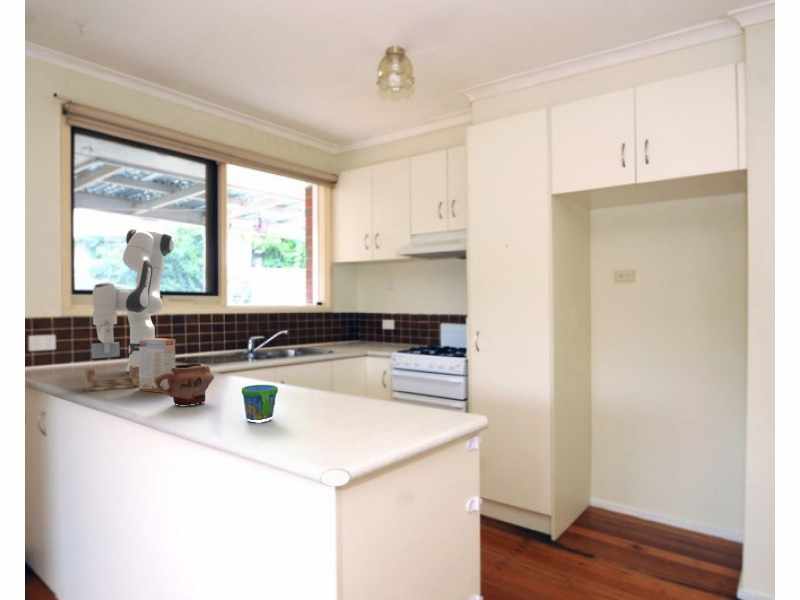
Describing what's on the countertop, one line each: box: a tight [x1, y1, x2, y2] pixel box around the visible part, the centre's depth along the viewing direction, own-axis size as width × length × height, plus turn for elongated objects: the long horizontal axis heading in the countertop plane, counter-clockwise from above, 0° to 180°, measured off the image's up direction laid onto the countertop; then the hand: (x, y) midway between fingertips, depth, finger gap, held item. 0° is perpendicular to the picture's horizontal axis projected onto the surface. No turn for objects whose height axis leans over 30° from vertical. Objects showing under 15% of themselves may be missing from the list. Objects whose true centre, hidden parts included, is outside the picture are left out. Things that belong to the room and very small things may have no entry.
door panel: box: [91, 341, 121, 359], centre depth 209 cm, size 10×2×6 cm, turn 128°
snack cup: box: [241, 384, 279, 420], centre depth 147 cm, size 16×11×10 cm
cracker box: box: [138, 337, 176, 393], centre depth 193 cm, size 14×6×21 cm, turn 65°
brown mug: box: [156, 363, 215, 405], centre depth 168 cm, size 20×12×14 cm, turn 146°
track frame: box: [84, 365, 139, 392], centre depth 199 cm, size 18×8×8 cm, turn 128°
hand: (106, 352), depth 209 cm, fingers closed on door panel, 2 cm apart
